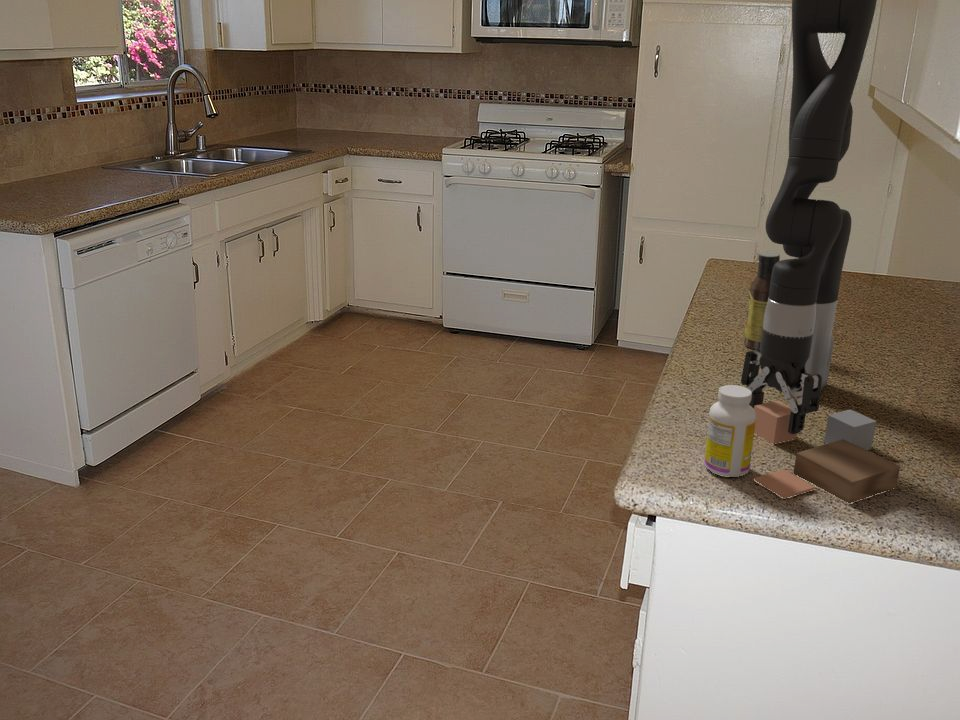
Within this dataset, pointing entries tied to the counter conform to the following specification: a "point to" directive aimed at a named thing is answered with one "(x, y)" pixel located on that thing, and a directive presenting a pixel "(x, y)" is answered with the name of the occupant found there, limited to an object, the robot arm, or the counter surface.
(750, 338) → the sauce bottle
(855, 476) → the walnut block
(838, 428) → the grey block
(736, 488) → the counter surface
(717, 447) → the supplement bottle
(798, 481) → the tile
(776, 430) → the terracotta block
